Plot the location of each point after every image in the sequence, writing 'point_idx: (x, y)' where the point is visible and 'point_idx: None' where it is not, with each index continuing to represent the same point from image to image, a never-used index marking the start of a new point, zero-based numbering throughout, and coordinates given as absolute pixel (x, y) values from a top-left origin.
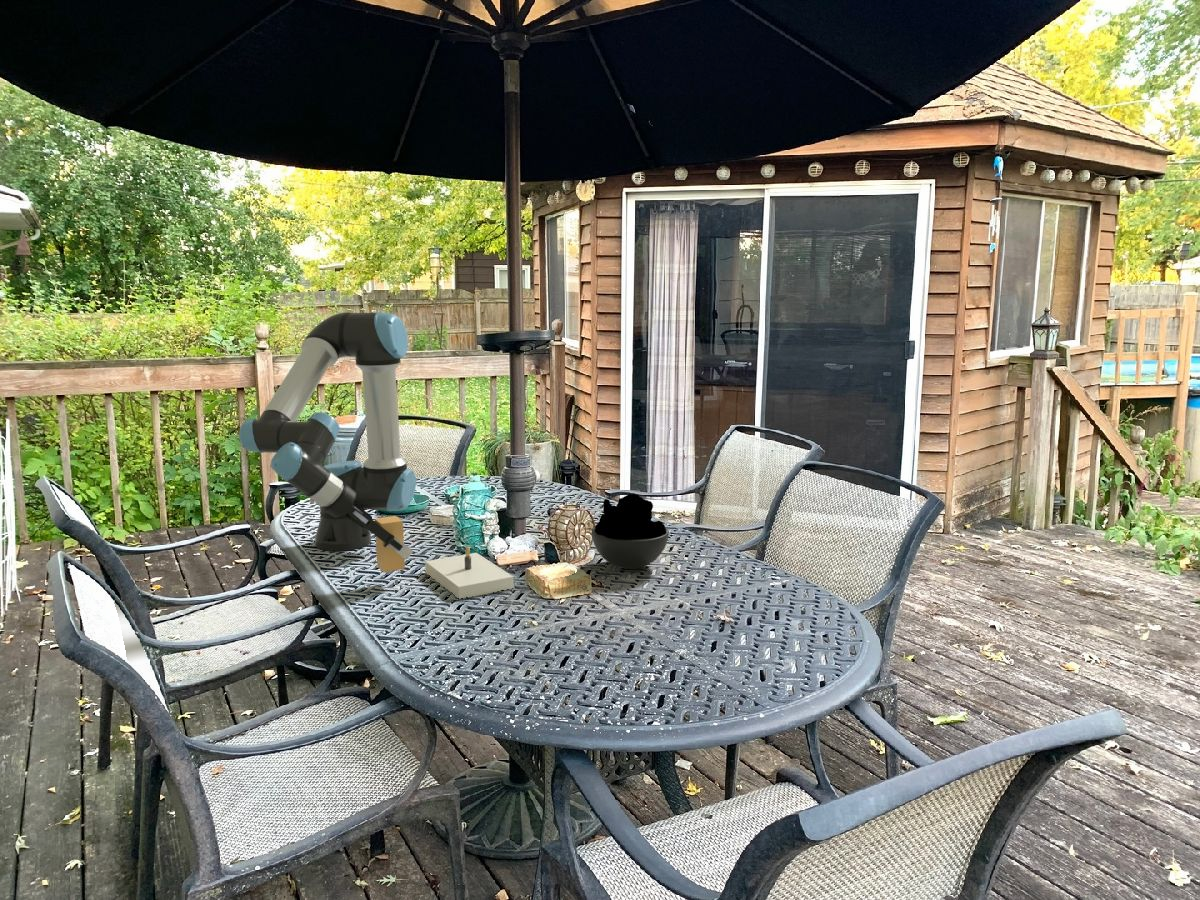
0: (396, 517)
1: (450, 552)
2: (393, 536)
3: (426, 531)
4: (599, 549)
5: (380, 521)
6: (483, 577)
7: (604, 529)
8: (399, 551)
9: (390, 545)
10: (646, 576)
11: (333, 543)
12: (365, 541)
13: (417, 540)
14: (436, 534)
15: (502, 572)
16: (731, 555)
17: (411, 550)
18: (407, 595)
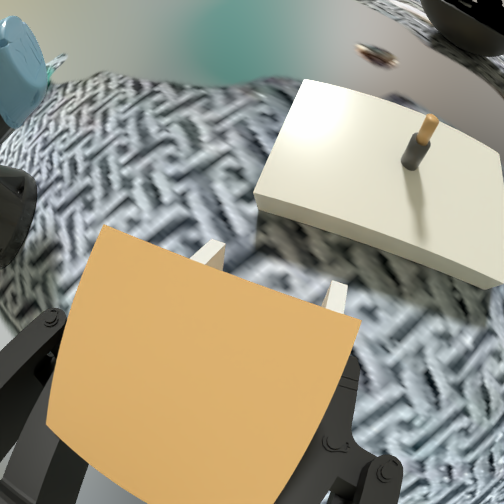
0: (154, 266)
1: (193, 97)
2: (400, 473)
3: (88, 92)
4: (476, 40)
5: (148, 488)
6: (482, 191)
7: (491, 19)
8: None
9: None
10: (492, 64)
11: (2, 255)
12: (30, 196)
13: (95, 116)
14: (109, 84)
15: (470, 143)
16: None
17: (345, 295)
18: (377, 374)
